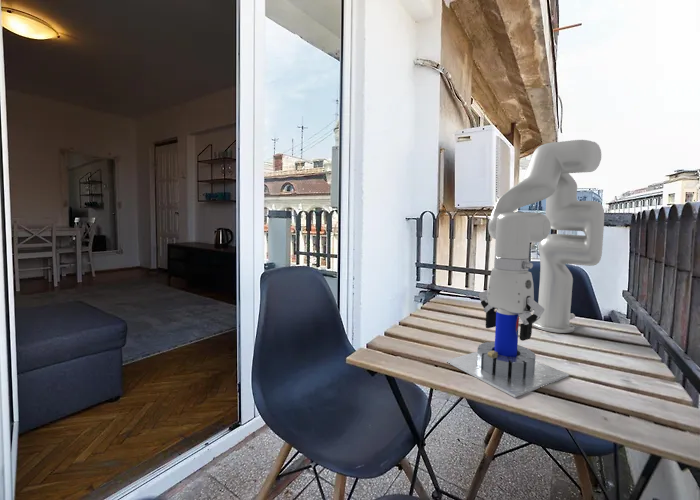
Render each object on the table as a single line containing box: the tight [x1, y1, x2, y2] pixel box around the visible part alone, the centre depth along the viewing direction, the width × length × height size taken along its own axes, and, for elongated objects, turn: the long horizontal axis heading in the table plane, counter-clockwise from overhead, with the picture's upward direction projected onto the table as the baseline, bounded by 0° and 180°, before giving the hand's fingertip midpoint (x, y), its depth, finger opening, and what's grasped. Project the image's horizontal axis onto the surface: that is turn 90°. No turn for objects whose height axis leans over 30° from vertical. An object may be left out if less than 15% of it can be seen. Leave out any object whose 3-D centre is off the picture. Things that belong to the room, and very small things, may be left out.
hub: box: [445, 341, 570, 399], centre depth 89 cm, size 20×20×5 cm
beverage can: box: [494, 308, 520, 357], centre depth 88 cm, size 5×5×15 cm
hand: (507, 333), depth 88 cm, fingers open, 9 cm apart
